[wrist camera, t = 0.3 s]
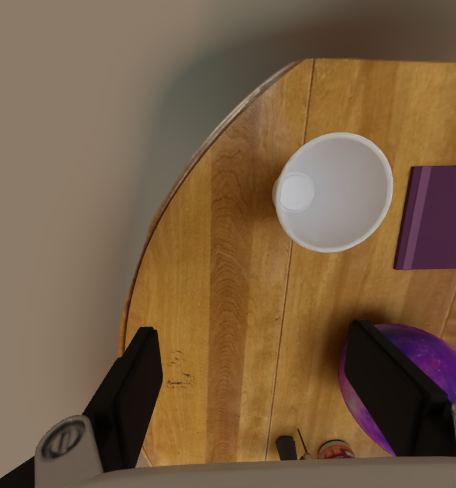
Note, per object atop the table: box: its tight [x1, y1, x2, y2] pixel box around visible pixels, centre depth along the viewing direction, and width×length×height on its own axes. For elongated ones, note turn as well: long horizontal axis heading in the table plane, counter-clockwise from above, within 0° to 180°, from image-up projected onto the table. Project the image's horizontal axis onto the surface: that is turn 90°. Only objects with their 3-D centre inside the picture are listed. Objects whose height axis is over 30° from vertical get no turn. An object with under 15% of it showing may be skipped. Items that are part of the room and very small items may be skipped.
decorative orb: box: [338, 324, 456, 457], centre depth 28 cm, size 15×15×15 cm
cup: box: [272, 132, 393, 253], centre depth 24 cm, size 10×10×11 cm
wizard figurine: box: [276, 429, 312, 461], centre depth 34 cm, size 8×6×12 cm
